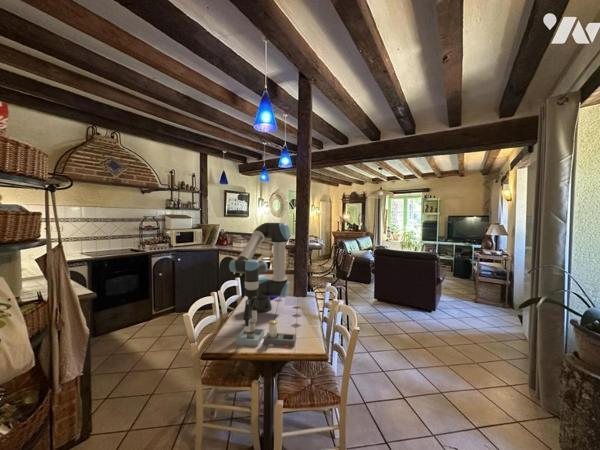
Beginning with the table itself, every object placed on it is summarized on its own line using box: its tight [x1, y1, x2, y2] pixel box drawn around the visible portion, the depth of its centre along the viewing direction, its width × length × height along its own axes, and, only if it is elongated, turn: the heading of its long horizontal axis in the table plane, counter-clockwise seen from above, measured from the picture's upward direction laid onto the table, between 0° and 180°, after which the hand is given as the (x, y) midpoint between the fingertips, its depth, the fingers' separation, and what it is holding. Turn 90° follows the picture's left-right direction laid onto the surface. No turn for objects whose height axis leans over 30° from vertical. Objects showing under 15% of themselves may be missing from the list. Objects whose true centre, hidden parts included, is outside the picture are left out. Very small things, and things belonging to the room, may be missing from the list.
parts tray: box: [235, 327, 265, 347], centre depth 142 cm, size 14×12×3 cm
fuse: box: [268, 319, 278, 339], centre depth 140 cm, size 4×4×10 cm
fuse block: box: [263, 331, 297, 348], centre depth 139 cm, size 9×16×3 cm, turn 84°
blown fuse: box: [247, 318, 256, 339], centre depth 142 cm, size 4×4×10 cm
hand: (250, 326), depth 142 cm, fingers open, 13 cm apart
